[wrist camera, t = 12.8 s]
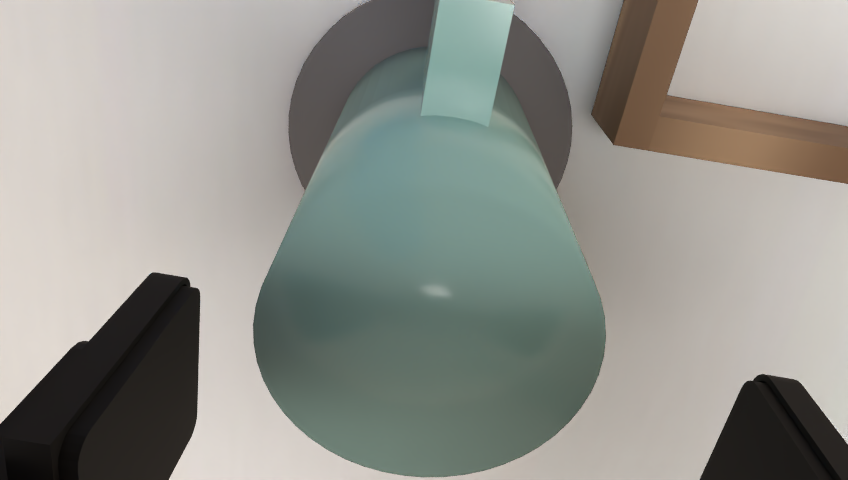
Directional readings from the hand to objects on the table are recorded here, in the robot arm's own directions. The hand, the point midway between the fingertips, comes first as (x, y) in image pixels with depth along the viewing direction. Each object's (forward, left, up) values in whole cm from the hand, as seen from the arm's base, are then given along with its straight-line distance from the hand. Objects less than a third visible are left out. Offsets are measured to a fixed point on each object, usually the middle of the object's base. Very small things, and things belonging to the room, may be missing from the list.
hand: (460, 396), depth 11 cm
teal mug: (+1, -2, -11) cm, 12 cm away
